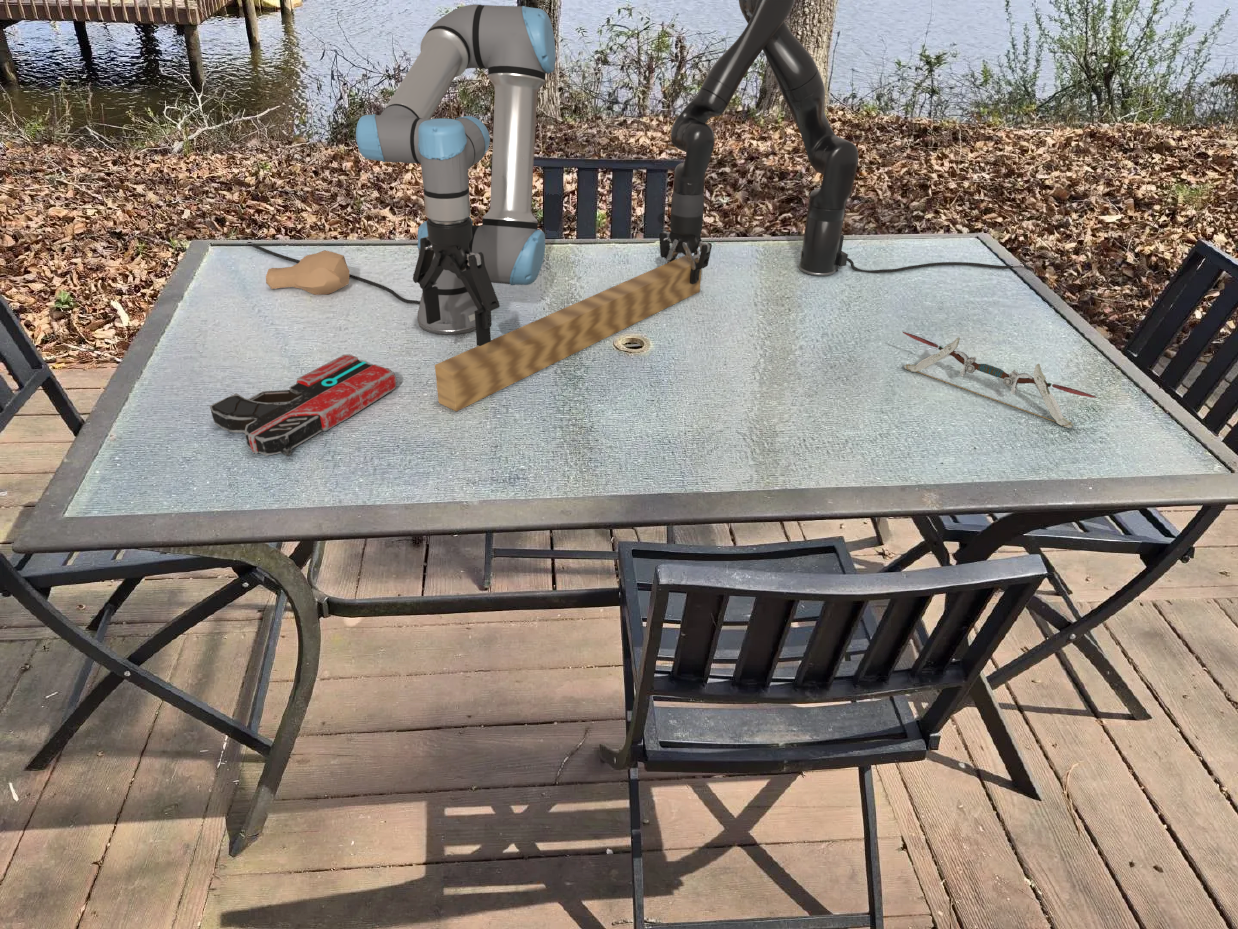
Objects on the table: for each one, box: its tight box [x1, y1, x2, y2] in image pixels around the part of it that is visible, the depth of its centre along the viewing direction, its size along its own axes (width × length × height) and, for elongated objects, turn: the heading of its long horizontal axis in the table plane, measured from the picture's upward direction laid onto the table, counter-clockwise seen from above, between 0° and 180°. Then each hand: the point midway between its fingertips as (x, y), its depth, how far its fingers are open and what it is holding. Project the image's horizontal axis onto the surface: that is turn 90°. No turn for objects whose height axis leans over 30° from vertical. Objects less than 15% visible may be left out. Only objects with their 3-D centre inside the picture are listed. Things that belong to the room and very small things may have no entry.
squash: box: [265, 250, 350, 296], centre depth 208 cm, size 11×20×9 cm, turn 90°
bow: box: [901, 330, 1097, 429], centre depth 171 cm, size 39×2×10 cm, turn 47°
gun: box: [209, 353, 398, 457], centre depth 162 cm, size 4×31×19 cm
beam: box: [434, 255, 703, 412], centre depth 189 cm, size 79×5×8 cm, turn 140°
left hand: (458, 332), depth 160 cm, fingers open, 13 cm apart
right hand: (682, 279), depth 212 cm, fingers open, 6 cm apart
